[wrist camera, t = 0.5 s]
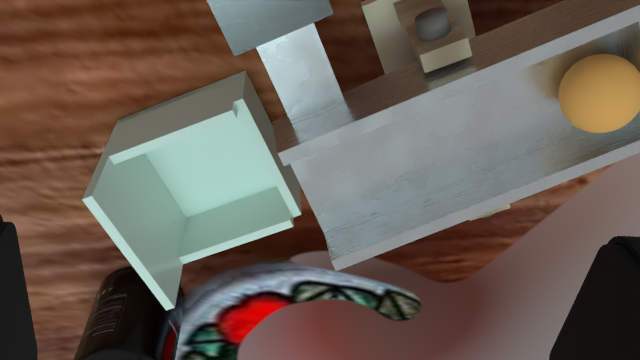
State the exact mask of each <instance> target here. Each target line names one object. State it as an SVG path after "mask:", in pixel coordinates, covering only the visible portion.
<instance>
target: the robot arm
mask: <svg viewBox="0 0 640 360" xmlns="http://www.w3.org/2000/svg"><path fill="white" fill-rule="evenodd" d="M0 360H37V344H36V339H35V333H34V327H33V322H32V316H31V310H30V305H29V299H28V294H27V288H26V282H25V277H24V271H23V265H22V260H21V254H20V249H19V243H18V237H17V232H16V228H15V225H14V224H13V223H12V222H3V219H2V216H1V215H0ZM549 360H640V237H629V236H627V237H626V236H617V237H613V238H612V239H611V240H610V241H609V242H608V244H606V245H603V246H602V247H601V248H600V249H599V251H598V253H597V255H596V257H595V259H594V261H593V263H592V265H591V268H590V270H589V272H588V274H587V276H586V278H585V280H584V282H583V285H582V286H581V289H580V291H579V293H578V295H577V297H576V299H575V301H574V304H573V306H572V308H571V310H570V312H569V314H568V316H567V318H566V321H565V322H564V325H563V327H562V329H561V331H560V333H559V335H558V337H557V339H556V342H555V344H554V346H553V348H552V350H551V353H550V358H549Z"/></svg>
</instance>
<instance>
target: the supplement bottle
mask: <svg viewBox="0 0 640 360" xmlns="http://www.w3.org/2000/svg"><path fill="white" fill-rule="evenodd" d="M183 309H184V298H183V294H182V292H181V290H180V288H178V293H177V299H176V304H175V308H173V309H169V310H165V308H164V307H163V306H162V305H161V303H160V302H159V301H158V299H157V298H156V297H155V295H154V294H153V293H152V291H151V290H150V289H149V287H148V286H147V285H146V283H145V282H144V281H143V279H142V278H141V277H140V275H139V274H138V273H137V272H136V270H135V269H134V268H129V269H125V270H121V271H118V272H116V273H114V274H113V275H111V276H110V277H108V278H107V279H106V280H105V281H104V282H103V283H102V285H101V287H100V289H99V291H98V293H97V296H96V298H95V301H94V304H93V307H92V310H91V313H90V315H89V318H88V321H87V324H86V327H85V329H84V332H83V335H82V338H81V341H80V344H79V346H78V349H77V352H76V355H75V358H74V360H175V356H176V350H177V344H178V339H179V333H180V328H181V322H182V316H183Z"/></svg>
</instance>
